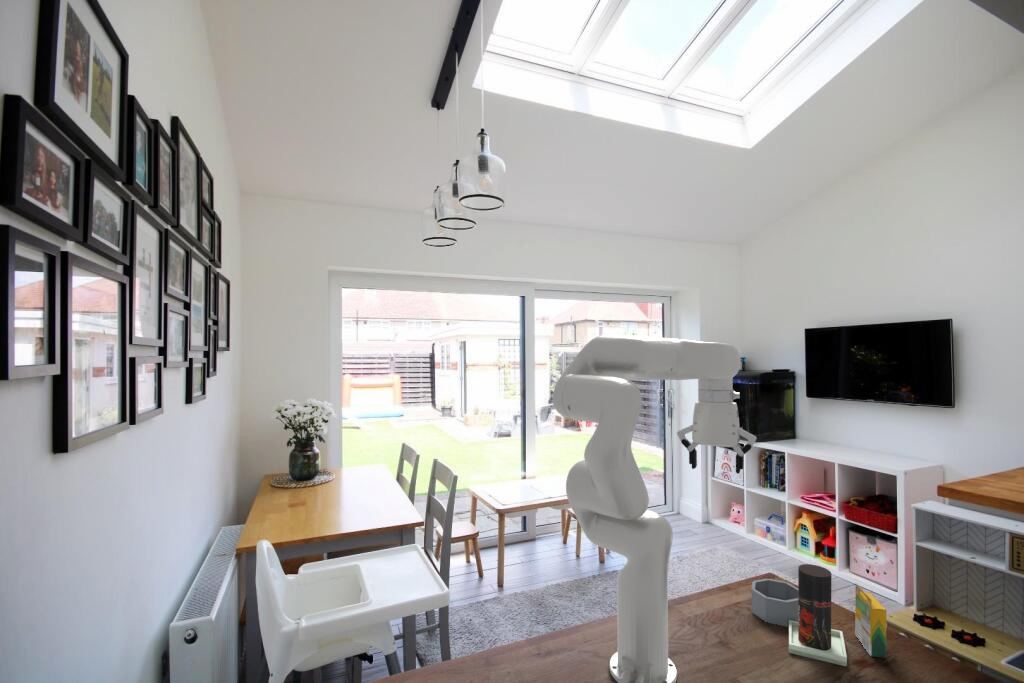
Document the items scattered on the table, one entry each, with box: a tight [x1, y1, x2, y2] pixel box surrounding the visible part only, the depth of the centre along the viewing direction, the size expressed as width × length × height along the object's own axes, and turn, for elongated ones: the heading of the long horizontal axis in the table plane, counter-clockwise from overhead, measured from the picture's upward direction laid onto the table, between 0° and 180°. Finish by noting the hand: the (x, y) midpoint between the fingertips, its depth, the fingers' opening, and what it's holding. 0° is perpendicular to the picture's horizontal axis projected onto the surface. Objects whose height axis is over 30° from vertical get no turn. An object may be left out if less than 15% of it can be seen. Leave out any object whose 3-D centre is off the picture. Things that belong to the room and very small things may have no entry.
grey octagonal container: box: [751, 578, 798, 628], centre depth 122 cm, size 10×10×6 cm
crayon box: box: [854, 583, 888, 658], centre depth 109 cm, size 7×3×12 cm, turn 168°
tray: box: [788, 620, 848, 667], centre depth 109 cm, size 10×10×2 cm
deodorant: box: [797, 563, 832, 651], centre depth 109 cm, size 6×6×15 cm
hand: (715, 469), depth 123 cm, fingers open, 9 cm apart
